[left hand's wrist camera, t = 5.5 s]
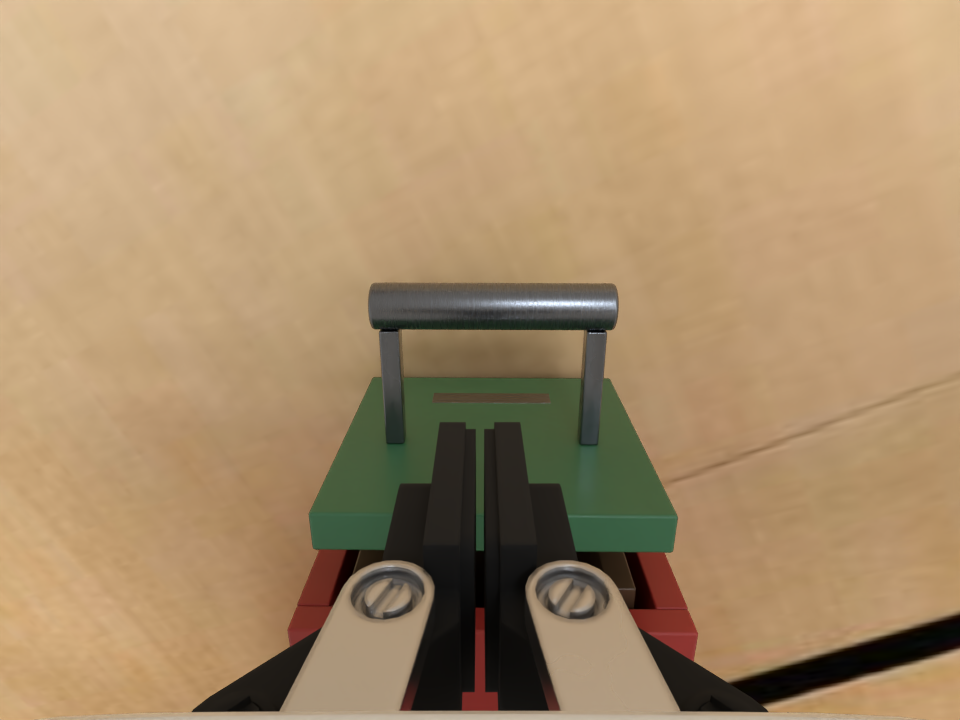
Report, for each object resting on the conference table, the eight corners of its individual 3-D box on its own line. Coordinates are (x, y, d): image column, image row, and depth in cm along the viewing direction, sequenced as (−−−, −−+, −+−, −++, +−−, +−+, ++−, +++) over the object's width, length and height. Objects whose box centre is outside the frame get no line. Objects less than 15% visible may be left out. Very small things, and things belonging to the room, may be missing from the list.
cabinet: (367, 430, 26) (285, 629, 16) (614, 431, 26) (700, 633, 16) (390, 739, 33) (344, 1022, 23) (586, 741, 33) (632, 1026, 23)
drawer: (363, 249, 23) (284, 324, 14) (620, 250, 22) (706, 325, 14) (394, 699, 31) (357, 925, 22) (582, 701, 31) (620, 929, 22)
